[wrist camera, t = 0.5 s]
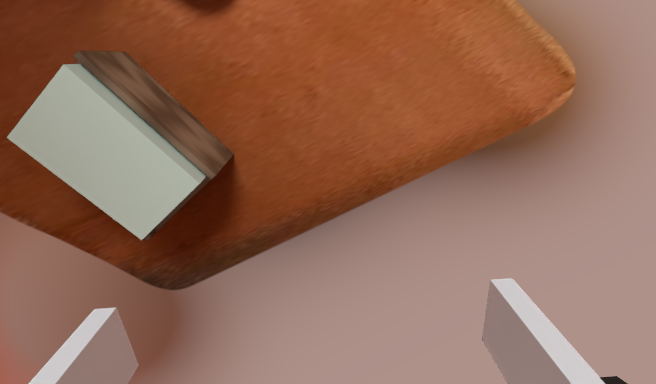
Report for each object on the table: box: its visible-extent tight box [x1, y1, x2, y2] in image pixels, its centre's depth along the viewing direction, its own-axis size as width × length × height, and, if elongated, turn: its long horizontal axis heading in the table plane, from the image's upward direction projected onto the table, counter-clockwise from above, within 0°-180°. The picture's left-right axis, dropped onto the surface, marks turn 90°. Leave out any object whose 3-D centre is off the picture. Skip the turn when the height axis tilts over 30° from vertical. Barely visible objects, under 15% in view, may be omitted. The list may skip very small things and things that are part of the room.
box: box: [74, 51, 234, 241], centre depth 33 cm, size 14×10×7 cm
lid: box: [7, 64, 207, 240], centre depth 29 cm, size 13×8×2 cm, turn 42°
